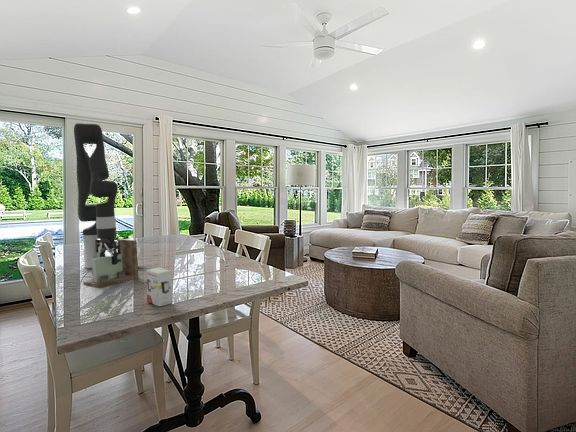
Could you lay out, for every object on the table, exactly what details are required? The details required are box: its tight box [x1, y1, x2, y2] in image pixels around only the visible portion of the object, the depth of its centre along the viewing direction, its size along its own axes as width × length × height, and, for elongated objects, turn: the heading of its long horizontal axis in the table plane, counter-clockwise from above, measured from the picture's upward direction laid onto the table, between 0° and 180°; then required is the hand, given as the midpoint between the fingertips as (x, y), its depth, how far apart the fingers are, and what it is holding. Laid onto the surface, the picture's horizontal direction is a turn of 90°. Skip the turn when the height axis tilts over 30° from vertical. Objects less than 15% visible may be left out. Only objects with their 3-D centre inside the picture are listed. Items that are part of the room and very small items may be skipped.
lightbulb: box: [137, 245, 141, 259], centre depth 178 cm, size 6×6×11 cm
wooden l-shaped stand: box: [83, 238, 139, 289], centre depth 150 cm, size 12×18×17 cm, turn 150°
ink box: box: [146, 267, 172, 307], centre depth 120 cm, size 9×5×12 cm, turn 50°
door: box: [91, 254, 122, 283], centre depth 149 cm, size 3×12×10 cm, turn 151°
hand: (108, 263), depth 149 cm, fingers open, 8 cm apart
